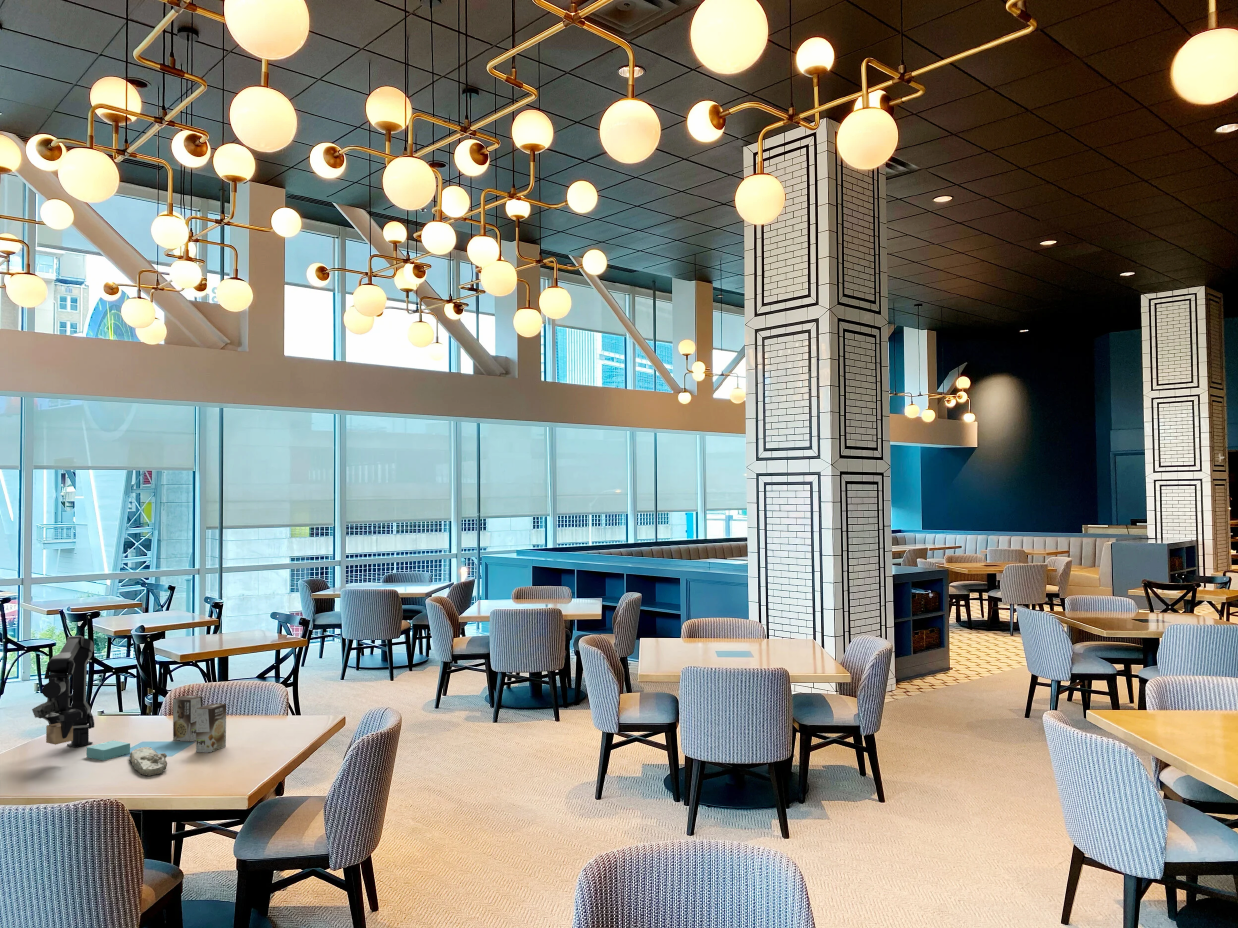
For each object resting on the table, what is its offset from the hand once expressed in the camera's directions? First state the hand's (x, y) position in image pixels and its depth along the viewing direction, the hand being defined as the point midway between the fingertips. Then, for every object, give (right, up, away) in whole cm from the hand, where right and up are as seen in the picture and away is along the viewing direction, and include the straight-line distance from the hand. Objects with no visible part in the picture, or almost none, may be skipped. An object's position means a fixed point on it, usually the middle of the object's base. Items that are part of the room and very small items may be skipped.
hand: (59, 736), depth 317 cm
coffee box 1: (+31, -10, +30) cm, 44 cm away
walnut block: (0, -2, 0) cm, 2 cm away
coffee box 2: (+47, -9, +14) cm, 50 cm away
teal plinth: (+12, -10, +9) cm, 18 cm away
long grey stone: (+34, -9, -5) cm, 35 cm away
